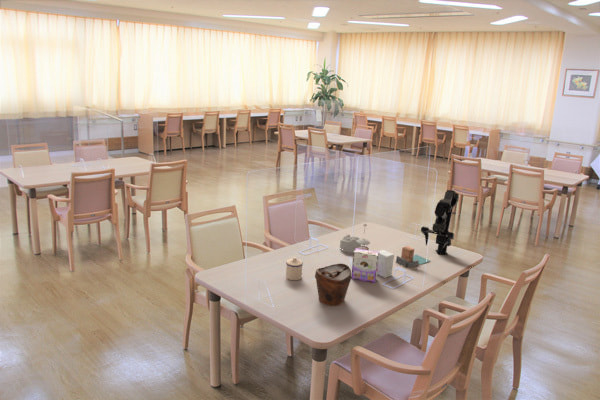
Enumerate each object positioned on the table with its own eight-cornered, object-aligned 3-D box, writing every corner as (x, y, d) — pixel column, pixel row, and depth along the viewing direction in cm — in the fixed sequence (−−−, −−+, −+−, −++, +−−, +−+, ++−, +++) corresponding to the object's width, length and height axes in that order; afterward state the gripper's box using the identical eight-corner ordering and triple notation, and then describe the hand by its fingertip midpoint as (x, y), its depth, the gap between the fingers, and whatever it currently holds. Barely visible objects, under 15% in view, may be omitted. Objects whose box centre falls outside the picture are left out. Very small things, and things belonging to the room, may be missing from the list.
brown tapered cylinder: (307, 304, 244) (310, 271, 239) (320, 288, 262) (323, 257, 257) (341, 313, 238) (345, 280, 233) (352, 296, 256) (356, 264, 251)
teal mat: (416, 255, 313) (416, 254, 313) (430, 261, 305) (430, 260, 304) (406, 258, 307) (406, 257, 307) (420, 264, 299) (420, 264, 299)
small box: (391, 275, 282) (394, 254, 279) (384, 278, 278) (386, 256, 275) (381, 270, 288) (383, 249, 284) (373, 272, 284) (376, 251, 281)
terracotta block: (406, 261, 303) (408, 246, 300) (412, 264, 299) (414, 248, 296) (400, 262, 300) (402, 247, 297) (406, 265, 296) (408, 250, 293)
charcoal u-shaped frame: (406, 258, 306) (407, 253, 305) (418, 264, 299) (419, 258, 298) (396, 262, 300) (396, 256, 299) (407, 267, 294) (408, 261, 292)
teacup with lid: (304, 279, 271) (306, 259, 268) (290, 281, 267) (291, 262, 264) (294, 270, 281) (296, 251, 278) (280, 272, 277) (281, 253, 274)
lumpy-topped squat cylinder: (362, 251, 314) (363, 238, 312) (344, 253, 309) (345, 240, 306) (353, 245, 323) (355, 232, 321) (336, 247, 318) (337, 234, 315)
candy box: (377, 279, 277) (380, 251, 272) (375, 283, 271) (378, 255, 267) (353, 274, 281) (355, 247, 276) (350, 278, 276) (353, 251, 271)
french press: (351, 264, 294) (354, 224, 286) (356, 257, 304) (360, 219, 297) (367, 267, 290) (371, 227, 283) (372, 260, 301) (376, 222, 293)
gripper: (422, 214, 288) (416, 240, 284) (455, 221, 280) (449, 247, 277) (425, 220, 298) (418, 244, 294) (456, 226, 290) (450, 251, 286)
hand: (434, 246), depth 288 cm, fingers open, 9 cm apart
